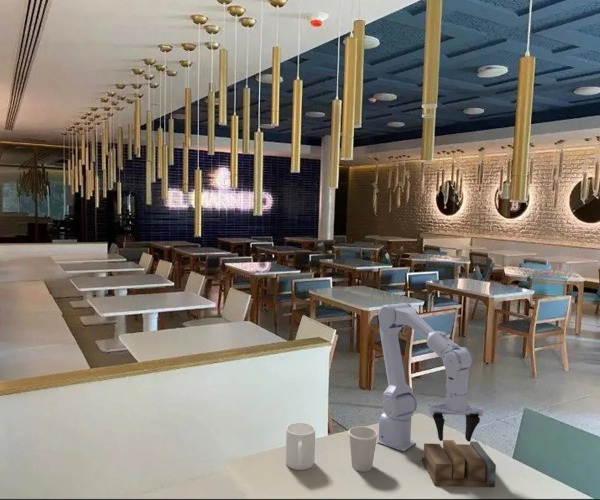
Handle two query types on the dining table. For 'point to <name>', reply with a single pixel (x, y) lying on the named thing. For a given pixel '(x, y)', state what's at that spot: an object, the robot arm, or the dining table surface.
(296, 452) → the mug
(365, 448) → the dixie cup
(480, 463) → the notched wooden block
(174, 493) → the dining table surface
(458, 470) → the tall tan pillar
